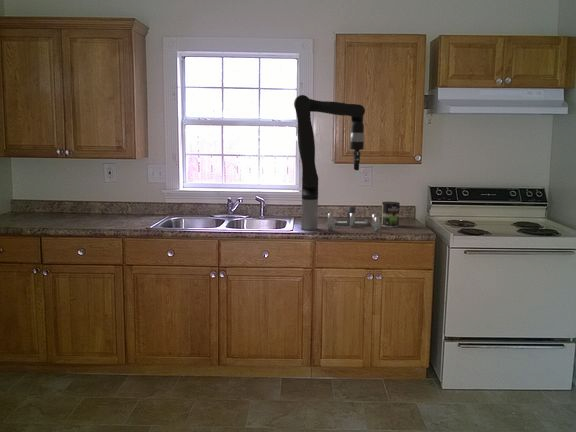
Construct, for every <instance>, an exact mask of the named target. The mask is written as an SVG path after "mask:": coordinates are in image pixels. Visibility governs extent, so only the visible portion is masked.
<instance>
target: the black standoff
mask: <svg viewBox="0 0 576 432" xmlns="http://www.w3.org/2000/svg"><path fill="white" fill-rule="evenodd" d="M350 213H355V214H356V206H347V207H346V219H347V223H350Z"/></svg>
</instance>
